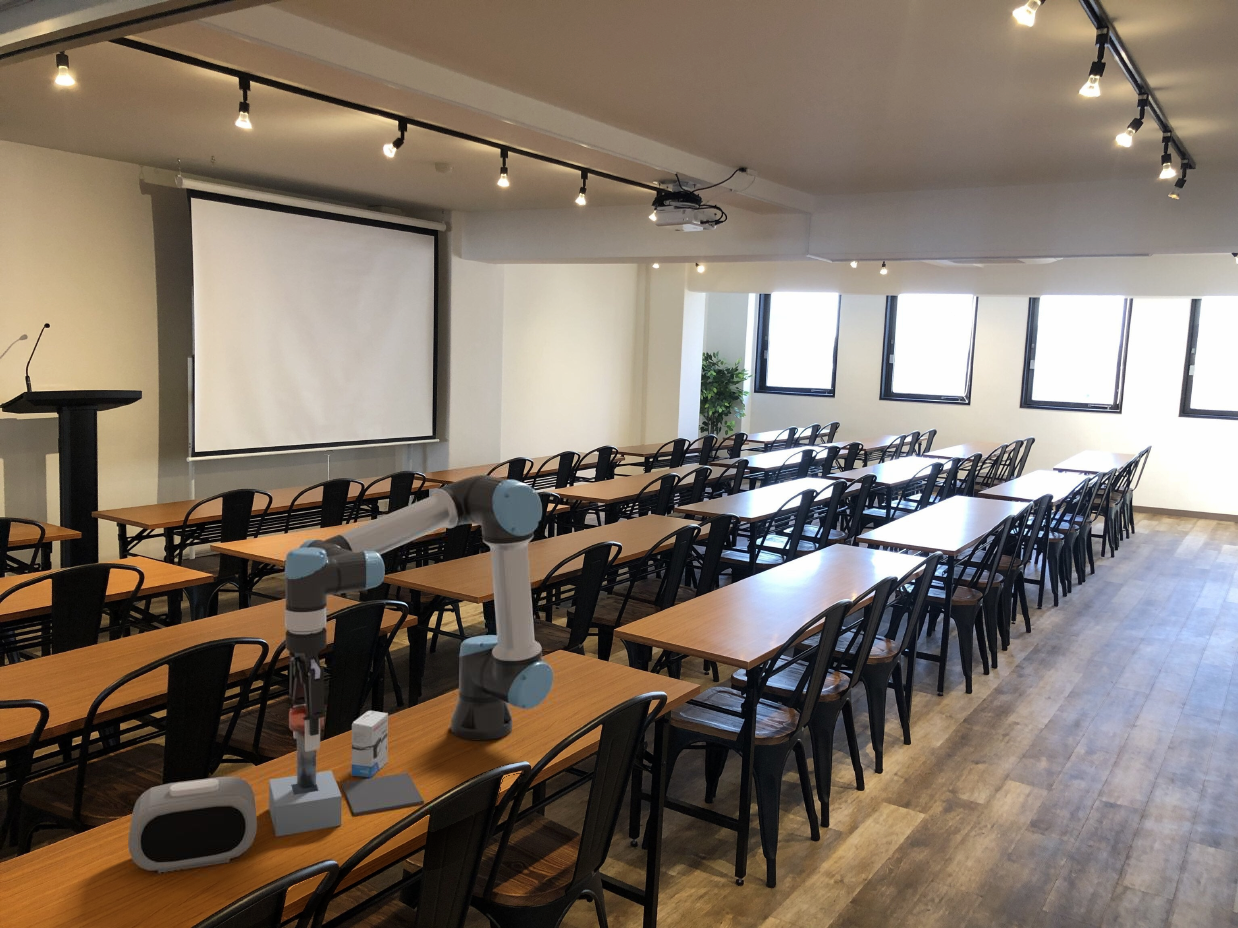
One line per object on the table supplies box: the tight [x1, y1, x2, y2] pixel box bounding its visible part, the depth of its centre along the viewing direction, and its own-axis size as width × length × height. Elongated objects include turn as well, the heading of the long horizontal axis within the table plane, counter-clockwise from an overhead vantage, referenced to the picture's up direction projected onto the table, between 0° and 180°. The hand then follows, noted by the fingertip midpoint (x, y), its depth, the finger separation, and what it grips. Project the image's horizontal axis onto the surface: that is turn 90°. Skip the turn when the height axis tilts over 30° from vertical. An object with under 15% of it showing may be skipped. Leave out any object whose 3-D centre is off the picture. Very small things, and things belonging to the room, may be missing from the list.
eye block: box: [268, 770, 343, 838], centre depth 183 cm, size 12×12×6 cm
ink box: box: [350, 710, 389, 779], centre depth 205 cm, size 8×5×12 cm, turn 168°
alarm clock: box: [127, 776, 258, 874], centre depth 167 cm, size 21×10×13 cm, turn 114°
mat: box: [341, 772, 425, 816], centre depth 194 cm, size 14×14×1 cm
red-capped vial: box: [288, 705, 325, 788], centre depth 182 cm, size 6×6×16 cm
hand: (306, 742), depth 182 cm, fingers closed on red-capped vial, 6 cm apart
